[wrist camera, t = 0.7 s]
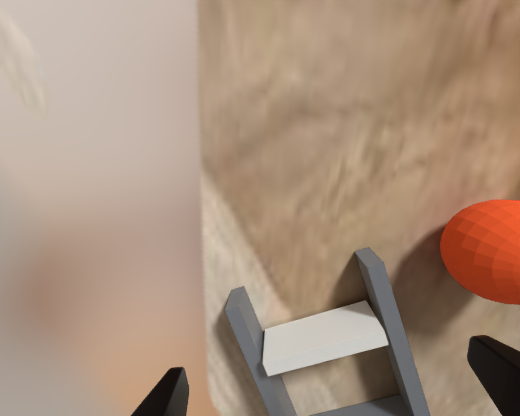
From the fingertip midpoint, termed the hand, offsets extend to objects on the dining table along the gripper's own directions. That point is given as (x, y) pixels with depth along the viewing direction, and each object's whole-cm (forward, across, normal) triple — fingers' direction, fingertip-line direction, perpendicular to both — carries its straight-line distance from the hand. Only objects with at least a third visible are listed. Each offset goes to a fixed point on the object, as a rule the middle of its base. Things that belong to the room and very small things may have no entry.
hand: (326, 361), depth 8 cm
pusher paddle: (+13, -2, +10) cm, 16 cm away
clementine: (+13, -15, +3) cm, 20 cm away
